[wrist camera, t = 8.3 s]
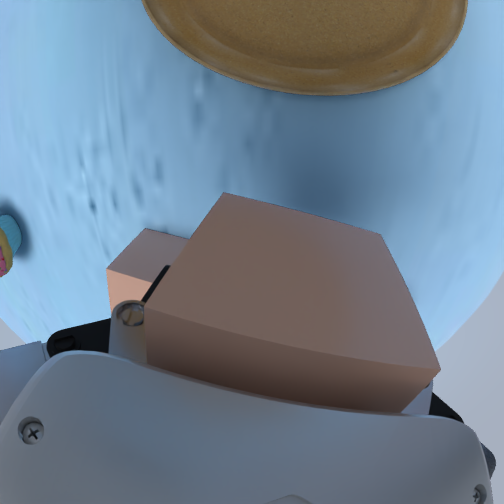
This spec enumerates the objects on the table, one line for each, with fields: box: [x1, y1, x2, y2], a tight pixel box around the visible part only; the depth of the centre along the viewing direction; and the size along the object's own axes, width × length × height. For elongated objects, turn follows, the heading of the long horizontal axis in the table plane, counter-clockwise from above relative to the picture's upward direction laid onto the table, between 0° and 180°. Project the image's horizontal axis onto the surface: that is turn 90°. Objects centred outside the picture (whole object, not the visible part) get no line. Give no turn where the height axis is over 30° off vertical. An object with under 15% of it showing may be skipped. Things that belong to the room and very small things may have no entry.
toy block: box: [144, 192, 441, 413], centre depth 10 cm, size 6×6×7 cm
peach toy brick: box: [106, 228, 189, 315], centre depth 25 cm, size 6×6×7 cm
